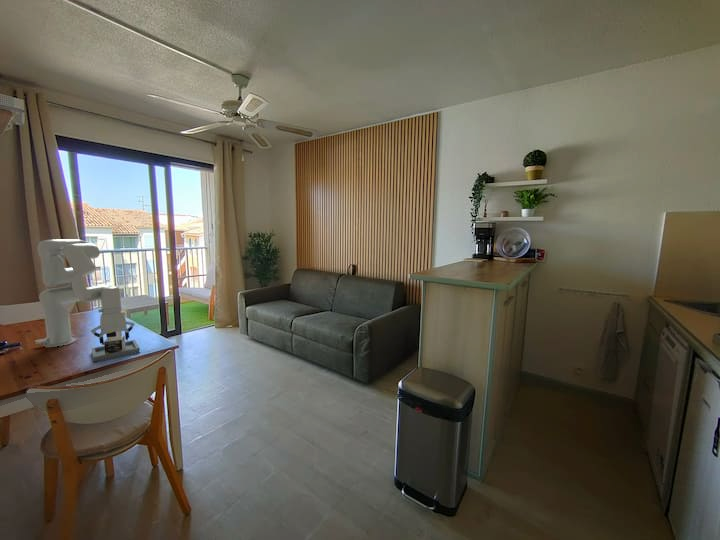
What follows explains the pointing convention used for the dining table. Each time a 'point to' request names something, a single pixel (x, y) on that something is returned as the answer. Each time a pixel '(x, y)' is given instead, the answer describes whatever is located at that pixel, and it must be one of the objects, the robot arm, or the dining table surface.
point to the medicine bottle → (114, 342)
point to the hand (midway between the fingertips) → (115, 341)
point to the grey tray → (100, 352)
